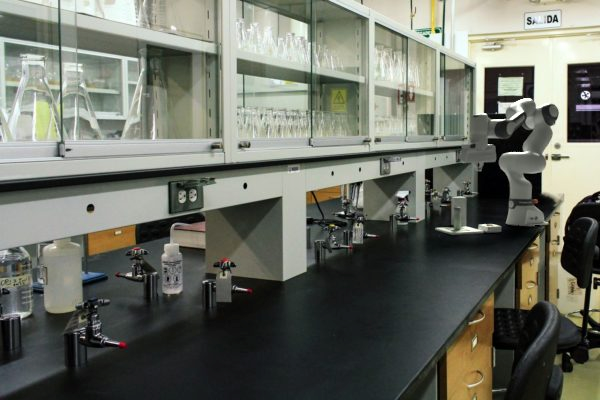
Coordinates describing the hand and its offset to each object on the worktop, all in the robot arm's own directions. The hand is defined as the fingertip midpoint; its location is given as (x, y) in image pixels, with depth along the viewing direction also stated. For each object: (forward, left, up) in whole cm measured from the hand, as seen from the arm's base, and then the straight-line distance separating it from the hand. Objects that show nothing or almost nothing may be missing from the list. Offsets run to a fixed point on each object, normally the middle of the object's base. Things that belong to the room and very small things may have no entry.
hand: (478, 171), depth 324 cm
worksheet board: (+18, +12, -30) cm, 36 cm away
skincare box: (+8, -5, -30) cm, 31 cm away
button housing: (+3, +16, -30) cm, 33 cm away
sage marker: (+19, +12, -28) cm, 36 cm away
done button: (+3, +16, -29) cm, 33 cm away
